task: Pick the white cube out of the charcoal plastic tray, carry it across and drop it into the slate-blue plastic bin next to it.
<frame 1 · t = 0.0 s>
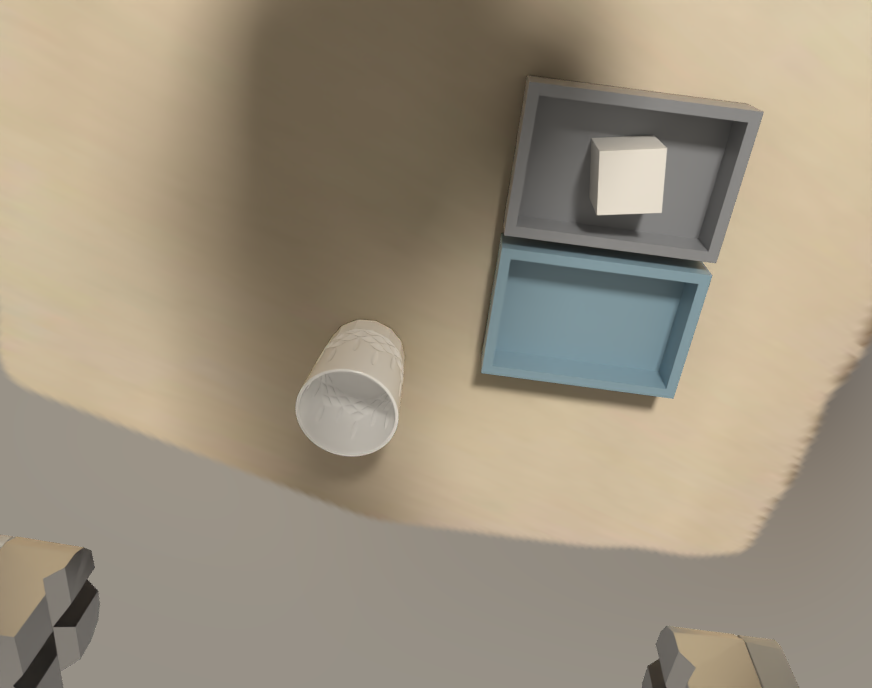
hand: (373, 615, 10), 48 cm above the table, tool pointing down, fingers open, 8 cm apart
white cube: (620, 167, 54), point 1 cm above the table, touching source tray
white cup: (367, 351, 63), on the table
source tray: (619, 165, 54), on the table
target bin: (586, 308, 60), on the table
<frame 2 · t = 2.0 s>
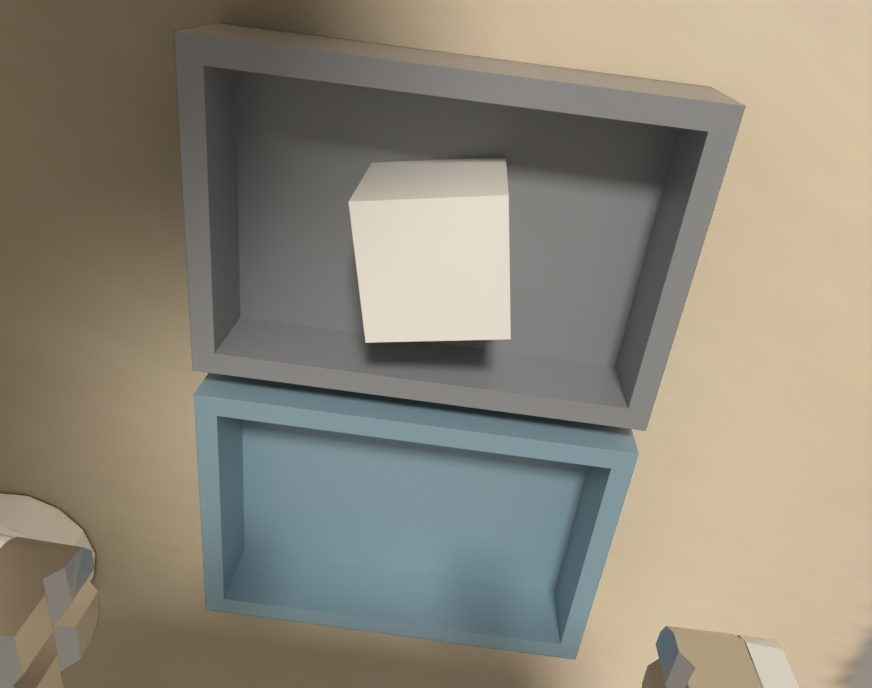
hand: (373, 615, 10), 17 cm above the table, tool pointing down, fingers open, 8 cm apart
white cube: (442, 224, 25), point 1 cm above the table, touching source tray
white cup: (30, 542, 35), on the table
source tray: (443, 218, 26), on the table
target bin: (410, 482, 31), on the table
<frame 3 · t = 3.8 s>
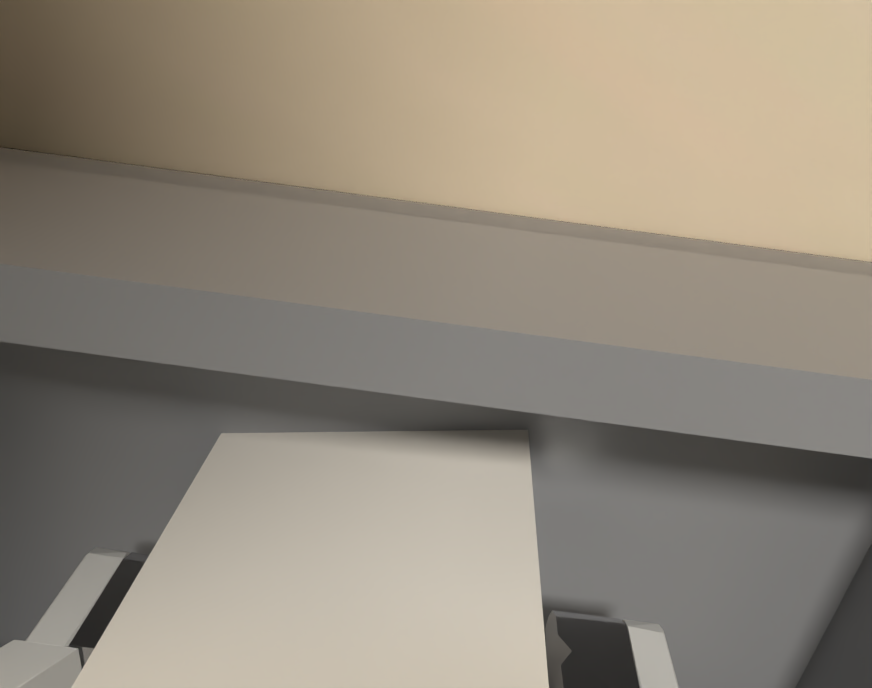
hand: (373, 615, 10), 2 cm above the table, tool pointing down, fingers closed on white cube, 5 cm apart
white cube: (385, 549, 11), point 1 cm above the table, touching gripper, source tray
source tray: (390, 523, 12), on the table
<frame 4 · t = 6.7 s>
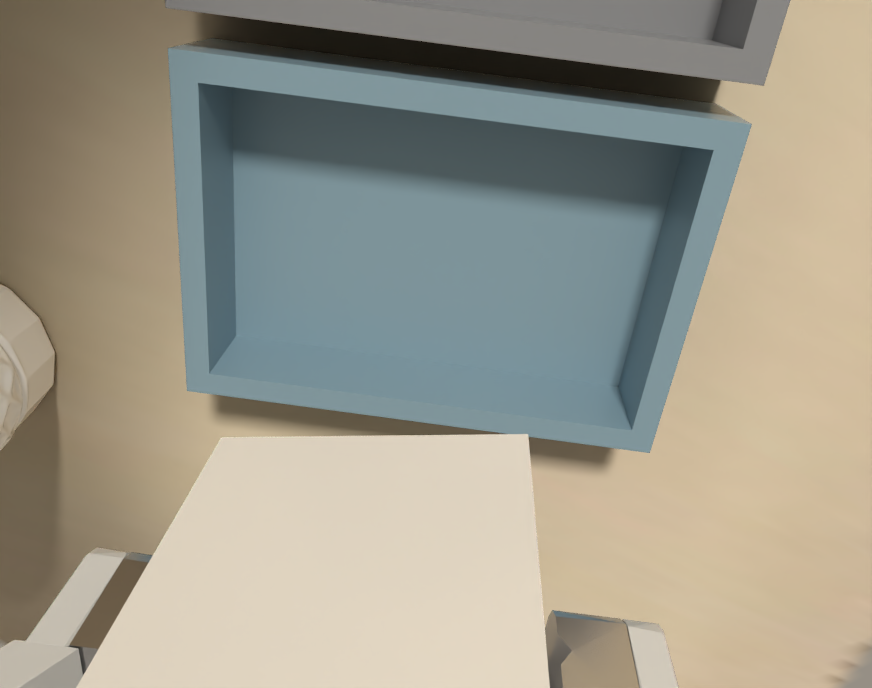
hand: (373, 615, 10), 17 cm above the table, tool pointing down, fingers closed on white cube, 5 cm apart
white cube: (385, 553, 11), point 15 cm above the table, touching gripper
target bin: (442, 236, 25), on the table
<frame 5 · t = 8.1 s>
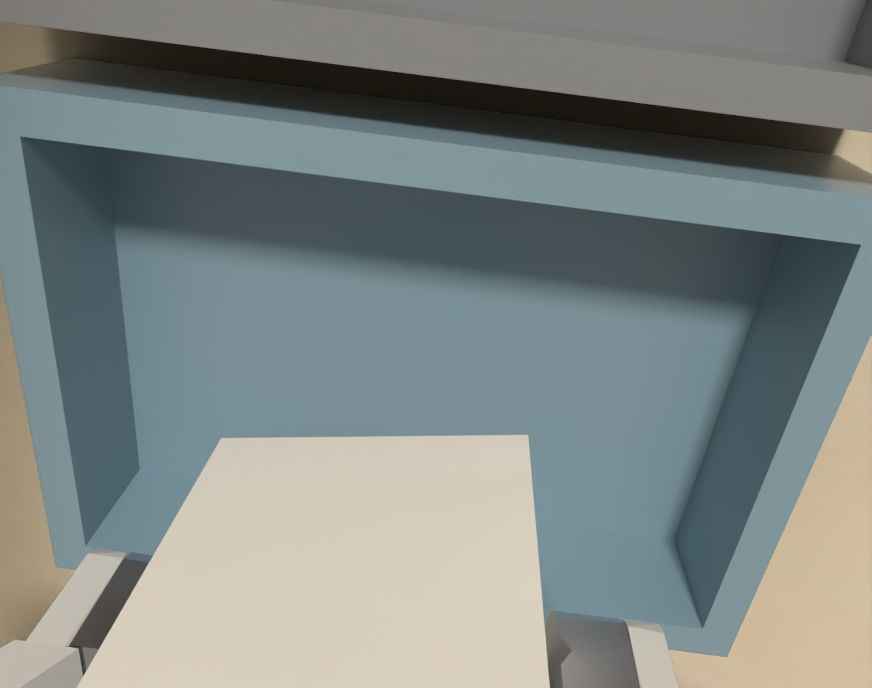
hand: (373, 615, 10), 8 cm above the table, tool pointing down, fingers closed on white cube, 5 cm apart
white cube: (385, 553, 11), point 7 cm above the table, touching gripper
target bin: (426, 339, 17), on the table
when the fingers open (4 cm above the table, at t = 9.4 s): white cube drops 2 cm, resting on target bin.
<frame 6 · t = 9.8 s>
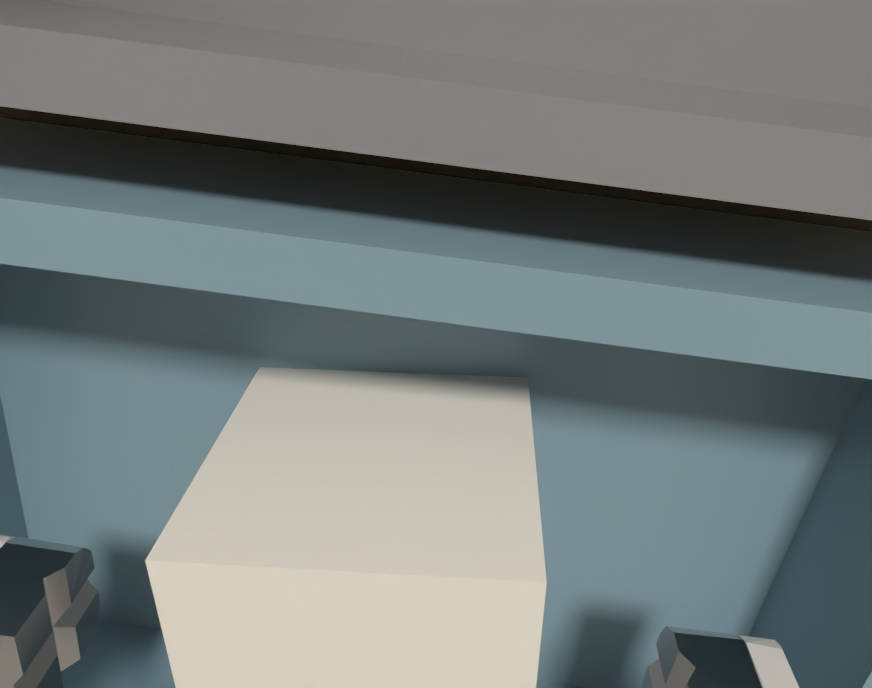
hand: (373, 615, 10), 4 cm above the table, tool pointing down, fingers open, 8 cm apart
white cube: (395, 480, 13), point 1 cm above the table, touching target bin
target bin: (402, 462, 14), on the table
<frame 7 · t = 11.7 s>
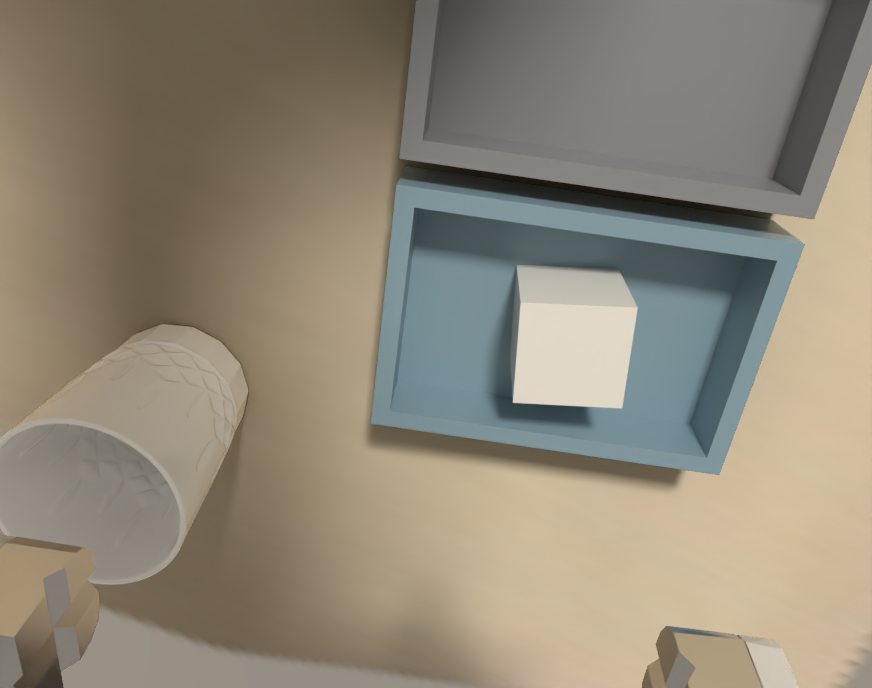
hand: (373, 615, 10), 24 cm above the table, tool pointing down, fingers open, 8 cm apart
white cube: (562, 313, 33), point 1 cm above the table, touching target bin
white cup: (185, 381, 37), on the table
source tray: (625, 30, 28), on the table
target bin: (562, 309, 33), on the table
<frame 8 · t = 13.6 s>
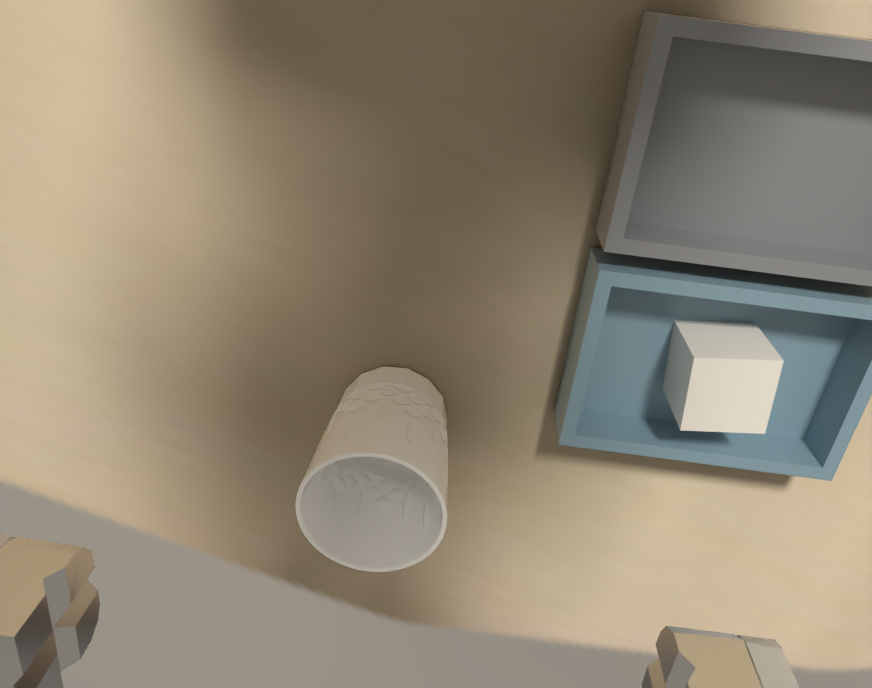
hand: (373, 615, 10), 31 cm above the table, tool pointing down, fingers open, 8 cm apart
white cube: (707, 356, 42), point 1 cm above the table, touching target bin
white cup: (394, 409, 46), on the table
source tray: (772, 147, 37), on the table
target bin: (705, 352, 42), on the table
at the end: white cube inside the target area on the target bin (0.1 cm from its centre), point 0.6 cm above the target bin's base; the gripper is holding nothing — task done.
